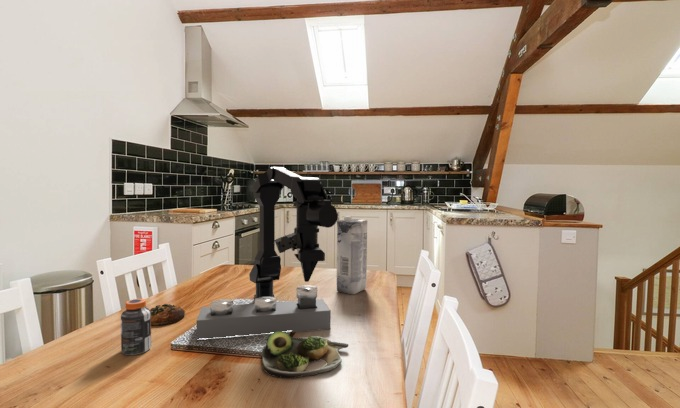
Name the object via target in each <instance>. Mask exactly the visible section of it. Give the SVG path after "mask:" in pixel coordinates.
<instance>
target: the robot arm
mask: <svg viewBox="0 0 680 408" xmlns="http://www.w3.org/2000/svg"><path fill="white" fill-rule="evenodd" d="M285 187H286V188H288V189H290V194H291V195H292V196H293V197H295V199H296V201H294V203H293V204H292V205H293V207H296V222H295V223H296V226H295V227H294V228H293V232H292V233H289V234H285V235H283V236H281V237H278V238H276V237H275V236H276V235H275V233H276V232H275V228H276V227H275V226H276V224H275V223H276V222H275V221H276V219H275V218H276V217H275V215H276V214H275V213H276V212H275V207H276V205H277V203H278V201H279V200H280V197H281V196H280V195H281V191H282V190H283V189H284V188H285ZM252 191H253V197H254V198H253V199H255V201H256V203H257V204H258V206H259V250H258V252H257V254H255V257H254V262H253V267H252V268H251V270H250V272H249V274H248V276H249V281H251V282H252V283H254V284H255V294H254V295H253V298H254V300H255V299H257V298H259V297H274V298H276V297H275V293H274V281H279V280H280V277H281V272H282V264H281V260H282V259H281V255H278V254H282V253H285V252H286V251H288V250H290V249H291V251H292V252H294V251H295V250H297V252H296V253H294V256H295V258H296V259H297V260H298V261H299V262H300V265H301V271H302V276H303V280H304V282H305V283H308V282H309V281H310V280H311V278H312V276H313V273H314V270H315V268H316V267H317V265H318V262H324V261H325V260H326V253H325V251H323V250H322V249H321V248H320V244H319V243H318V233H320V228H319V227H322V228H332V227H333V226H334V225H335V224H337V221H338V218H339V214H338V211H337V209H336V207H335V206H334V205H332V200H330V199H329V197H328V195H327V193H326V190H325V189H324V186H323V183H322V181H321V179H320V178H319V177H313V176H301V175H300V174H297V173H295V172H294V171H293V172H292V171H290V170H288V169H287V168H285V167H283V166H271V167H268V168H267V170H266V171H264V172H263V173H260V174H259V175H258V176H257V177H256V178H255V180H254V182H253V184H252ZM275 246H276V247H275ZM275 248H277V251H278V253H277V252H276V249H275Z"/></svg>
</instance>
